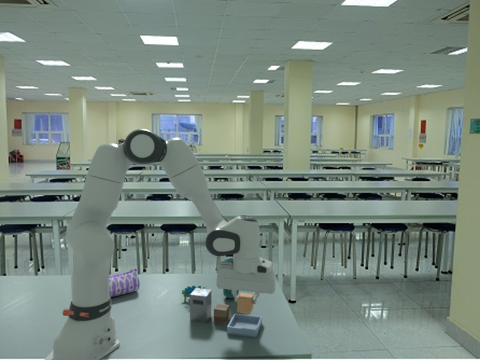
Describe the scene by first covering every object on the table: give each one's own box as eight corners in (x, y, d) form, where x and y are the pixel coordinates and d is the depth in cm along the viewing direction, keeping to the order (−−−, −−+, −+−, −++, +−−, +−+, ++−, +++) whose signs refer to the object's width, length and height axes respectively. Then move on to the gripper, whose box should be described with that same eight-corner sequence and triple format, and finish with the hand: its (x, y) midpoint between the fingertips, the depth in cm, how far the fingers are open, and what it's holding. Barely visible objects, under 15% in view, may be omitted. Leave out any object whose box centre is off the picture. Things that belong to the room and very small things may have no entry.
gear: (212, 293, 161) (205, 283, 153) (211, 307, 157) (203, 298, 149) (186, 294, 163) (178, 284, 155) (184, 308, 159) (176, 299, 152)
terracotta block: (250, 313, 132) (250, 299, 132) (237, 312, 133) (237, 298, 133) (253, 308, 137) (253, 294, 136) (240, 306, 138) (240, 292, 137)
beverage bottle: (220, 299, 159) (220, 251, 156) (226, 293, 165) (227, 246, 162) (235, 302, 157) (236, 253, 154) (241, 296, 163) (242, 248, 160)
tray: (256, 338, 130) (256, 330, 130) (227, 334, 132) (227, 326, 132) (261, 323, 140) (262, 316, 139) (234, 320, 142) (234, 313, 142)
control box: (205, 323, 139) (206, 296, 138) (189, 321, 140) (189, 294, 139) (211, 315, 145) (211, 289, 144) (196, 313, 147) (196, 287, 146)
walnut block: (225, 324, 139) (226, 310, 139) (213, 322, 140) (213, 308, 140) (229, 318, 144) (229, 305, 143) (217, 316, 145) (217, 303, 144)
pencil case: (133, 285, 172) (133, 264, 171) (143, 292, 165) (142, 270, 164) (81, 299, 158) (80, 276, 157) (89, 307, 151) (89, 283, 150)
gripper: (213, 263, 133) (213, 303, 134) (274, 269, 128) (273, 309, 130) (219, 257, 139) (219, 295, 140) (277, 262, 134) (276, 301, 136)
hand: (245, 302), depth 135 cm, fingers closed on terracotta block, 4 cm apart
